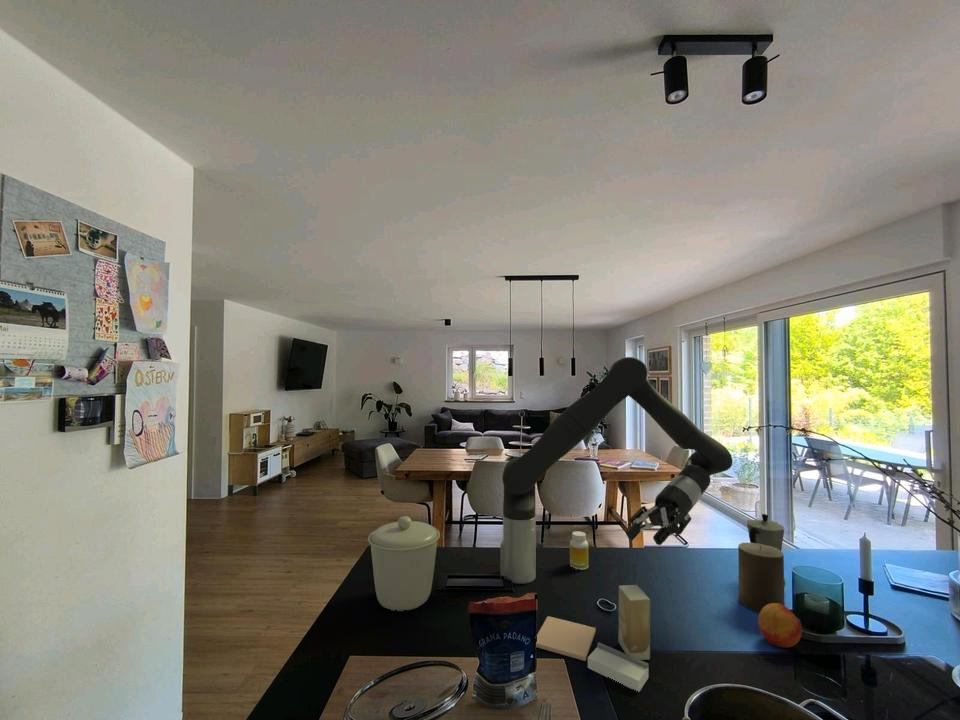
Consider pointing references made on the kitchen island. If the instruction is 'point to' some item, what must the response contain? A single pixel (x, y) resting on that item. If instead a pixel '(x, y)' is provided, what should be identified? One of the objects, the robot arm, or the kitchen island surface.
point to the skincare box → (634, 622)
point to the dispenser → (618, 666)
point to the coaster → (565, 638)
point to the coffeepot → (766, 532)
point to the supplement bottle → (579, 551)
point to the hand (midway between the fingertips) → (641, 539)
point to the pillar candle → (760, 575)
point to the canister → (403, 563)
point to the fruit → (779, 625)
